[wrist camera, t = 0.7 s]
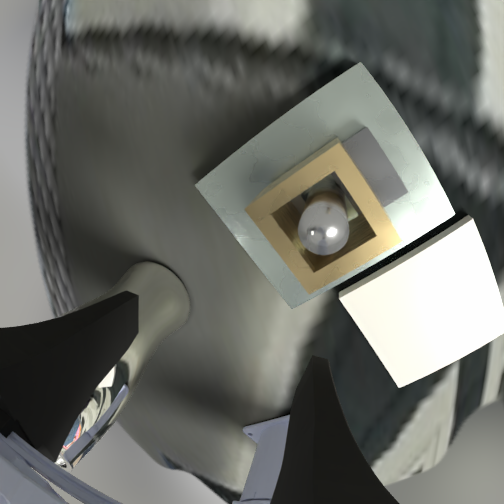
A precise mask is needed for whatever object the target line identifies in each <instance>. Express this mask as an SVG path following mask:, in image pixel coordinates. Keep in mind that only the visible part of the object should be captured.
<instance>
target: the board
mask: <svg viewBox="0 0 504 504" xmlns="http://www.w3.org/2000/svg"><path fill="white" fill-rule="evenodd" d="M339 299H340V301H341V302H342V304H343V305H344V307H345V308H346V309H347V311H348V312H349V314H350V315H351V317H352V318H353V320H354V321H355V323H356V324H357V325H358V327H359V328H360V330H361V331H362V333H363V334H364V336H365V337H366V339H367V340H368V342H369V343H370V345H371V346H372V348H373V349H374V351H375V352H376V354H377V355H378V357H379V358H380V360H381V361H382V363H383V364H384V366H385V367H386V369H387V370H388V372H389V373H390V375H391V376H392V378H393V380H394V381H395V383H396V384H397V386H398V387H399V388H400V387H402V386H405V385H407V384H409V383H411V382H414V381H416V380H418V379H420V378H422V377H424V376H427V375H429V374H431V373H433V372H435V371H437V370H439V369H441V368H443V367H445V366H447V365H449V364H451V363H452V362H454V361H456V360H458V359H460V358H462V357H464V356H465V355H467V354H469V353H471V352H473V351H474V350H476V349H478V348H480V347H481V346H483V345H485V344H486V343H488V342H490V341H491V340H493V339H495V338H496V337H498V336H499V335H501V334H503V333H504V308H503V304H502V300H501V297H500V293H499V290H498V287H497V283H496V280H495V277H494V274H493V271H492V268H491V265H490V262H489V259H488V256H487V254H486V251H485V248H484V245H483V243H482V240H481V238H480V235H479V232H478V230H477V228H476V225H475V223H474V220H473V219H472V218H471V217H470V216H469V215H467V216H466V217H464V218H463V219H461V220H460V221H458V222H457V223H455V224H454V225H452V226H450V227H449V228H447V229H446V230H444V231H443V232H441V233H440V234H438V235H436V236H435V237H433V238H432V239H430V240H428V241H427V242H425V243H423V244H422V245H420V246H419V247H417V248H415V249H414V250H412V251H410V252H409V253H407V254H405V255H404V256H402V257H400V258H399V259H397V260H395V261H393V262H392V263H390V264H388V265H387V266H385V267H383V268H381V269H380V270H378V271H376V272H374V273H373V274H371V275H369V276H367V277H366V278H364V279H362V280H360V281H358V282H357V283H355V284H353V285H351V286H349V287H348V288H346V289H344V290H342V291H340V292H339Z"/></svg>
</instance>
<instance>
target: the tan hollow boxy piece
mask: <svg viewBox="0 0 504 504" xmlns="http://www.w3.org/2000/svg"><path fill="white" fill-rule="evenodd" d="M334 171H335V172H336V174H337V175H338V177H339V178H340V180H341V181H342V183H343V184H344V185H345V187H346V188H347V190H348V191H349V193H350V194H351V196H352V197H353V199H354V200H355V202H356V203H357V205H358V207H359V208H360V210H361V211H362V213H361V214H359V215H358V216H356V217H355V218H353V219H351V220H350V221H348V224H349V237H348V240H347V242H346V244H345V245H344V246H343V248H341V249H340V250H339V251H337V252H335V253H333V254H329V255H319V254H315V253H313V252H311V251H309V250H308V249H307V248H306V247H305V246H304V245H303V244H302V242H301V241H300V238H299V235H298V226H299V222H300V219H301V214H300V213H299V212H298V210H297V209H296V207H295V206H294V205H293V203H292V202H291V201H290V200H292V199H293V198H295V197H296V196H298V195H299V194H301V193H302V192H304V191H305V190H307V189H308V188H310V187H311V186H313V185H314V184H316V183H317V182H319V181H320V180H322V179H323V178H325V177H326V176H328V175H329V174H331V173H332V172H334ZM244 210H245V211H246V212H247V214H248V215H249V216H250V218H251V219H252V220H253V222H254V223H255V224H256V225H257V227H258V228H259V229H260V231H261V232H262V233H263V235H264V236H265V237H266V239H267V240H268V241H269V242H270V244H271V245H272V246H273V248H274V249H275V250H276V252H277V253H278V254H279V256H280V257H281V258H282V260H283V261H284V262H285V264H286V265H287V266H288V268H289V269H290V270H291V272H292V273H293V274H294V276H295V277H296V278H297V279H298V281H299V282H300V283H301V285H302V286H303V288H304V289H305V290H306V292H307V293H308V294H311V293H313V292H315V291H317V290H319V289H320V288H322V287H324V286H326V285H328V284H329V283H331V282H333V281H335V280H337V279H338V278H340V277H342V276H344V275H346V274H347V273H349V272H351V271H353V270H354V269H356V268H358V267H360V266H361V265H363V264H365V263H367V262H368V261H370V260H372V259H373V258H375V257H377V256H379V255H380V254H382V253H384V252H385V251H387V250H389V249H390V248H392V247H394V246H395V245H397V244H399V243H400V242H402V241H401V239H400V237H399V235H398V233H397V231H396V229H395V227H394V225H393V223H392V221H391V219H390V217H389V215H388V213H387V212H386V210H385V208H384V207H383V205H382V203H381V202H380V200H379V199H378V197H377V195H376V194H375V192H374V191H373V189H372V187H371V186H370V184H369V183H368V181H367V180H366V178H365V177H364V175H363V174H362V172H361V171H360V169H359V168H358V166H357V165H356V163H355V162H354V160H353V159H352V157H351V156H350V154H349V153H348V151H347V150H346V149H345V147H344V146H343V144H342V143H341V142H340V140H339V139H338V137H337V138H335V139H334V140H333V141H331V142H330V143H328V144H327V145H325V146H324V147H322V148H321V149H319V150H318V151H316V152H315V153H314V154H312V155H311V156H309V157H308V158H306V159H305V160H303V161H302V162H301V163H299V164H298V165H296V166H295V167H293V168H292V169H291V170H289V171H288V172H286V173H285V174H284V175H282V176H281V177H279V178H278V179H276V180H275V181H274V182H272V183H271V184H269V185H268V186H267V187H265V188H264V189H263V190H262V191H261V192H260V193H259V194H258V195H257V196H256V197H255V198H254V199H253V200H252V201H251V202H250V203H249V205H248V206H247V207H246V208H245V209H244Z"/></svg>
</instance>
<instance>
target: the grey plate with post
mask: <svg viewBox="0 0 504 504" xmlns="http://www.w3.org/2000/svg"><path fill="white" fill-rule="evenodd" d="M337 137H338V139H339V140H340V142H341V143H342V144H343V146H344V147H345V149H346V150H347V151H348V153H349V154H350V156H351V157H352V159H353V160H354V162H355V163H356V165H357V166H358V168H359V169H360V171H361V172H362V174H363V175H364V177H365V178H366V180H367V181H368V183H369V184H370V186H371V187H372V189H373V191H374V192H375V194H376V195H377V197H378V199H379V200H380V202H381V203H382V205H383V207H384V208H385V210H386V212H387V213H388V215H389V217H390V219H391V221H392V223H393V225H394V227H395V229H396V231H397V233H398V235H399V237H400V239H401V241H402V242H400V243H399V244H397V245H395V246H394V247H392V248H390V249H389V250H387V251H385V252H384V253H382V254H380V255H379V256H377V257H375V258H373V259H372V260H370V261H368V262H367V263H365V264H363V265H361V266H360V267H358V268H356V269H354V270H353V271H351V272H349V273H347V274H346V275H344V276H342V277H340V278H338V279H337V280H335V281H333V282H331V283H329V284H328V285H326V286H324V287H322V288H320V289H319V290H317V291H315V292H313V293H311V294H308V293H307V292H306V290H305V289H304V288H303V286H302V285H301V283H300V282H299V281H298V279H297V278H296V277H295V276H294V274H293V273H292V272H291V270H290V269H289V268H288V266H287V265H286V264H285V262H284V261H283V260H282V258H281V257H280V256H279V254H278V253H277V252H276V250H275V249H274V248H273V246H272V245H271V244H270V242H269V241H268V240H267V239H266V237H265V236H264V235H263V233H262V232H261V231H260V229H259V228H258V227H257V225H256V224H255V223H254V222H253V220H252V219H251V218H250V216H249V215H248V214H247V212H246V211H245V210H244V209H245V208H246V207H247V206H248V205H249V203H250V202H251V201H252V200H253V199H254V198H255V197H256V196H257V195H258V194H259V193H260V192H261V191H262V190H263V189H264V188H265V187H267V186H268V185H269V184H271V183H272V182H274V181H275V180H276V179H278V178H279V177H281V176H282V175H284V174H285V173H286V172H288V171H289V170H291V169H292V168H293V167H295V166H296V165H298V164H299V163H301V162H302V161H303V160H305V159H306V158H308V157H309V156H311V155H312V154H314V153H315V152H316V151H318V150H319V149H321V148H322V147H324V146H325V145H327V144H328V143H330V142H331V141H333V140H334V139H335V138H337ZM195 186H196V188H197V189H198V190H199V192H200V193H201V194H202V195H203V197H204V198H205V199H206V201H207V202H208V203H209V204H210V206H211V207H212V208H213V209H214V211H215V212H216V213H217V215H218V216H219V217H220V218H221V220H222V221H223V222H224V224H225V225H226V226H227V227H228V229H229V230H230V231H231V233H232V234H233V235H234V236H235V238H236V239H237V240H238V241H239V243H240V244H241V245H242V247H243V248H244V249H245V250H246V252H247V253H248V254H249V255H250V257H251V258H252V259H253V261H254V262H255V263H256V264H257V266H258V267H259V268H260V270H261V271H262V272H263V273H264V275H265V276H266V277H267V278H268V280H269V281H270V282H271V284H272V285H273V286H274V287H275V289H276V290H277V291H278V292H279V294H280V295H281V296H282V298H283V299H284V300H285V301H286V303H287V304H288V305H289V306H290V308H291V309H293V308H295V307H297V306H299V305H301V304H303V303H305V302H306V301H308V300H310V299H312V298H314V297H316V296H318V295H320V294H321V293H323V292H325V291H327V290H329V289H331V288H333V287H334V286H336V285H338V284H340V283H342V282H343V281H345V280H347V279H349V278H351V277H352V276H354V275H356V274H358V273H359V272H361V271H363V270H365V269H366V268H368V267H370V266H372V265H373V264H375V263H377V262H379V261H380V260H382V259H384V258H385V257H387V256H389V255H391V254H392V253H394V252H396V251H397V250H399V249H401V248H402V247H404V246H406V245H407V244H409V243H411V242H412V241H414V240H415V239H417V238H419V237H420V236H422V235H424V234H425V233H427V232H428V231H430V230H432V229H433V228H435V227H436V226H438V225H439V224H441V223H443V222H444V221H446V220H447V219H449V218H450V217H452V216H453V215H455V213H454V211H453V209H452V207H451V204H450V202H449V200H448V198H447V196H446V194H445V192H444V190H443V188H442V186H441V185H440V183H439V181H438V179H437V177H436V175H435V173H434V171H433V170H432V168H431V166H430V164H429V162H428V161H427V159H426V157H425V155H424V154H423V152H422V150H421V149H420V147H419V145H418V144H417V142H416V140H415V139H414V137H413V135H412V134H411V132H410V131H409V129H408V127H407V126H406V124H405V123H404V121H403V120H402V118H401V117H400V115H399V114H398V112H397V111H396V109H395V108H394V106H393V105H392V103H391V102H390V100H389V99H388V98H387V96H386V95H385V93H384V92H383V91H382V89H381V88H380V86H379V85H378V84H377V82H376V81H375V80H374V78H373V77H372V76H371V74H370V73H369V72H368V71H367V69H366V68H365V67H364V65H363V64H362V63H361V62H360V63H358V64H357V65H355V66H353V67H352V68H350V69H349V70H347V71H346V72H344V73H343V74H341V75H340V76H338V77H337V78H335V79H334V80H332V81H331V82H329V83H328V84H326V85H325V86H323V87H322V88H321V89H319V90H318V91H316V92H315V93H313V94H312V95H310V96H309V97H308V98H306V99H305V100H303V101H302V102H301V103H299V104H298V105H296V106H295V107H294V108H292V109H291V110H289V111H288V112H287V113H285V114H284V115H283V116H281V117H280V118H279V119H277V120H276V121H275V122H273V123H272V124H271V125H269V126H268V127H267V128H265V129H264V130H263V131H261V132H260V133H259V134H257V135H256V136H255V137H253V138H252V139H251V140H250V141H248V142H247V143H246V144H244V145H243V146H242V147H241V148H239V149H238V150H237V151H236V152H234V153H233V154H232V155H231V156H229V157H228V158H227V159H226V160H224V161H223V162H222V163H221V164H220V165H218V166H217V167H216V168H215V169H213V170H212V171H211V172H210V173H209V174H207V175H206V176H205V177H204V178H203V179H201V180H200V181H199V182H198V183H197V184H196V185H195ZM290 201H291V202H292V203H293V205H294V206H295V207H296V209H297V210H298V212H299V213H300V214H301V219H300V222H299V226H298V235H299V238H300V241H301V242H302V244H303V245H304V246H305V247H306V248H307V249H308V250H309V251H311V252H313V253H315V254H319V255H329V254H333V253H335V252H337V251H339V250H340V249H341V248H343V246H344V245H345V244H346V242H347V240H348V237H349V224H348V221H350V220H351V219H353V218H355V217H356V216H358V215H359V214H361V213H362V211H361V210H360V208H359V207H358V205H357V203H356V202H355V200H354V199H353V197H352V196H351V194H350V193H349V191H348V190H347V188H346V187H345V185H344V184H343V183H342V181H341V180H340V178H339V177H338V175H337V174H336V172H335V171H334V172H332V173H331V174H329V175H328V176H326V177H325V178H323V179H322V180H320V181H319V182H317V183H316V184H314V185H313V186H311V187H310V188H308V189H307V190H305V191H304V192H302V193H301V194H299V195H298V196H296V197H295V198H293V199H292V200H290Z"/></svg>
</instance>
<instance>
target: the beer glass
mask: <svg viewBox="0 0 504 504" xmlns="http://www.w3.org/2000/svg"><path fill="white" fill-rule="evenodd" d="M126 290H127V291H129V292H132V293H134V294H137V295H139V333H138V334H137V336H136V338H135V339H134V341H133V343H132V344H131V346H130V347H129V349H128V350H127V352H126V353H125V354H124V355H123V356H122V358H121V359H120V360H119V361H118V362H117V364H116V365H115V366H114V367H113V368H112V370H111V371H110V372H109V373H108V374H107V376H106V377H105V378H104V379H103V380H102V381H101V383H100V384H99V385H98V386H97V388H96V389H95V390H94V392H93V393H92V395H91V396H90V398H89V399H88V401H87V403H86V404H85V406H84V407H83V409H82V411H81V413H80V414H79V416H78V418H77V420H76V421H75V423H74V425H73V427H72V429H71V431H70V433H69V435H68V437H67V439H66V441H65V443H64V445H63V447H62V450H61V452H60V454H59V456H58V459H57V461H56V462H55V464H56V465H58V466H59V467H61V468H62V469H64V470H65V471H67V472H71V471H72V469H73V468H74V467H75V466H76V465H77V464H78V463H79V462H80V460H81V459H82V458H83V457H84V456H85V455H86V454H87V453H88V452H89V451H90V450H91V449H92V448H93V447H94V446H95V445H96V444H97V443H98V442H99V441H100V440H101V438H102V437H103V436H104V435H105V434H106V432H107V431H108V430H109V429H110V428H111V426H112V425H113V424H114V423H115V421H116V420H117V418H118V417H119V416H120V414H121V413H122V411H123V410H124V409H125V407H126V405H127V403H128V402H129V400H130V398H131V396H132V395H133V393H134V391H135V389H136V387H137V385H138V383H139V381H140V379H141V377H142V375H143V373H144V371H145V369H146V367H147V365H148V363H149V361H150V360H151V358H152V356H153V354H154V352H155V351H156V349H157V348H158V347H159V345H160V344H161V343H162V342H163V341H164V340H165V339H166V338H167V337H168V336H169V335H171V334H172V333H173V332H175V331H176V330H178V329H179V328H180V327H181V326H183V325H184V324H185V322H186V321H187V319H188V317H189V314H190V300H189V296H188V293H187V291H186V289H185V287H184V285H183V284H182V282H181V281H180V280H179V278H178V277H177V276H176V275H175V274H174V273H173V272H171V271H170V270H169V269H167V268H166V267H164V266H162V265H160V264H157V263H154V262H140V263H137V264H135V265H133V266H132V267H131V268H129V269H128V271H127V272H126V273H125V274H124V275H123V276H122V278H121V279H120V280H119V281H118V283H117V284H116V285H115V286H114V287H113V288H111V289H110V290H109V291H107V292H106V293H104V294H103V295H101V296H99V297H97V298H95V299H93V300H91V301H89V302H87V303H85V304H83V305H80V306H78V307H76V308H74V309H72V310H70V311H68V312H66V313H64V314H62V315H60V316H58V317H61V316H64V315H67V314H70V313H72V312H75V311H78V310H80V309H83V308H86V307H88V306H90V305H93V304H95V303H98V302H100V301H102V300H105V299H107V298H109V297H112V296H114V295H116V294H119V293H121V292H124V291H126ZM58 317H57V318H58Z"/></svg>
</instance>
